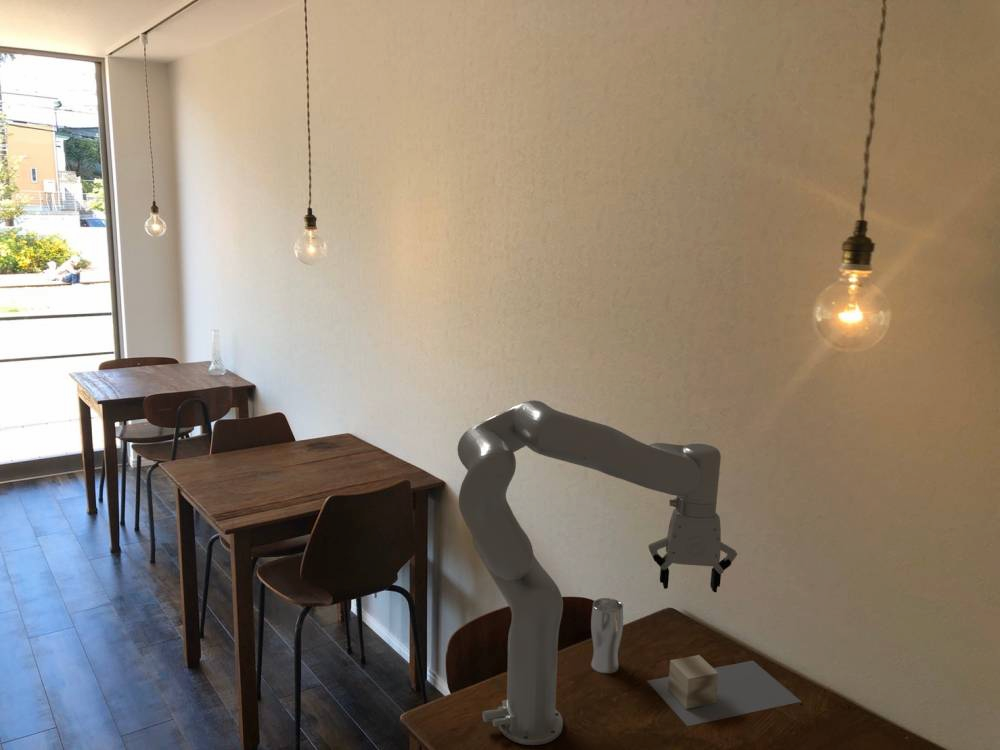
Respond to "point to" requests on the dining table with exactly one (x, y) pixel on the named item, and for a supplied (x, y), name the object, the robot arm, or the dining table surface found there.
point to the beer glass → (606, 634)
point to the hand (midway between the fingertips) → (689, 587)
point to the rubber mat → (732, 694)
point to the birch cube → (693, 682)
